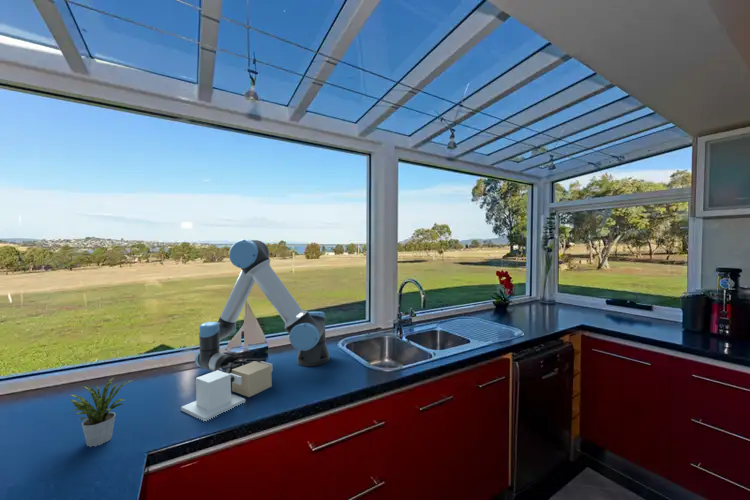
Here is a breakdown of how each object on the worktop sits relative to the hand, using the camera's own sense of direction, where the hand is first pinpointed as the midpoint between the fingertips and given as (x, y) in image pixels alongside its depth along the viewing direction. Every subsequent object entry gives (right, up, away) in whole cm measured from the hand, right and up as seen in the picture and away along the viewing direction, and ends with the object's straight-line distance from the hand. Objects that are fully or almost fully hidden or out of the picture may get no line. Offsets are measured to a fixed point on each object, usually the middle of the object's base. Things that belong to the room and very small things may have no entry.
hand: (257, 373), depth 115 cm
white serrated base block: (-10, -6, -11) cm, 17 cm away
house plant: (-33, -7, -28) cm, 43 cm away
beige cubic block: (-3, -6, +2) cm, 7 cm away
